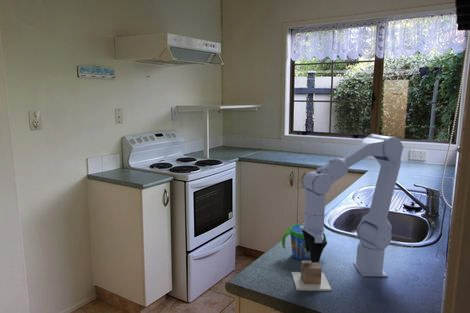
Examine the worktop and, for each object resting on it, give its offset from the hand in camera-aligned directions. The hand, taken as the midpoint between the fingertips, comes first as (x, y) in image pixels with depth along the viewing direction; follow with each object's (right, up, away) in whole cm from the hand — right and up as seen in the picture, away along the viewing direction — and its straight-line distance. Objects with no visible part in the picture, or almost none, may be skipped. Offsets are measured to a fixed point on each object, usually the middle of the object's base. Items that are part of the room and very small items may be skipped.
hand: (312, 256), depth 110 cm
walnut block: (0, -8, +1) cm, 8 cm away
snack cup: (+1, -5, +19) cm, 20 cm away
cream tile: (0, -8, +1) cm, 8 cm away
